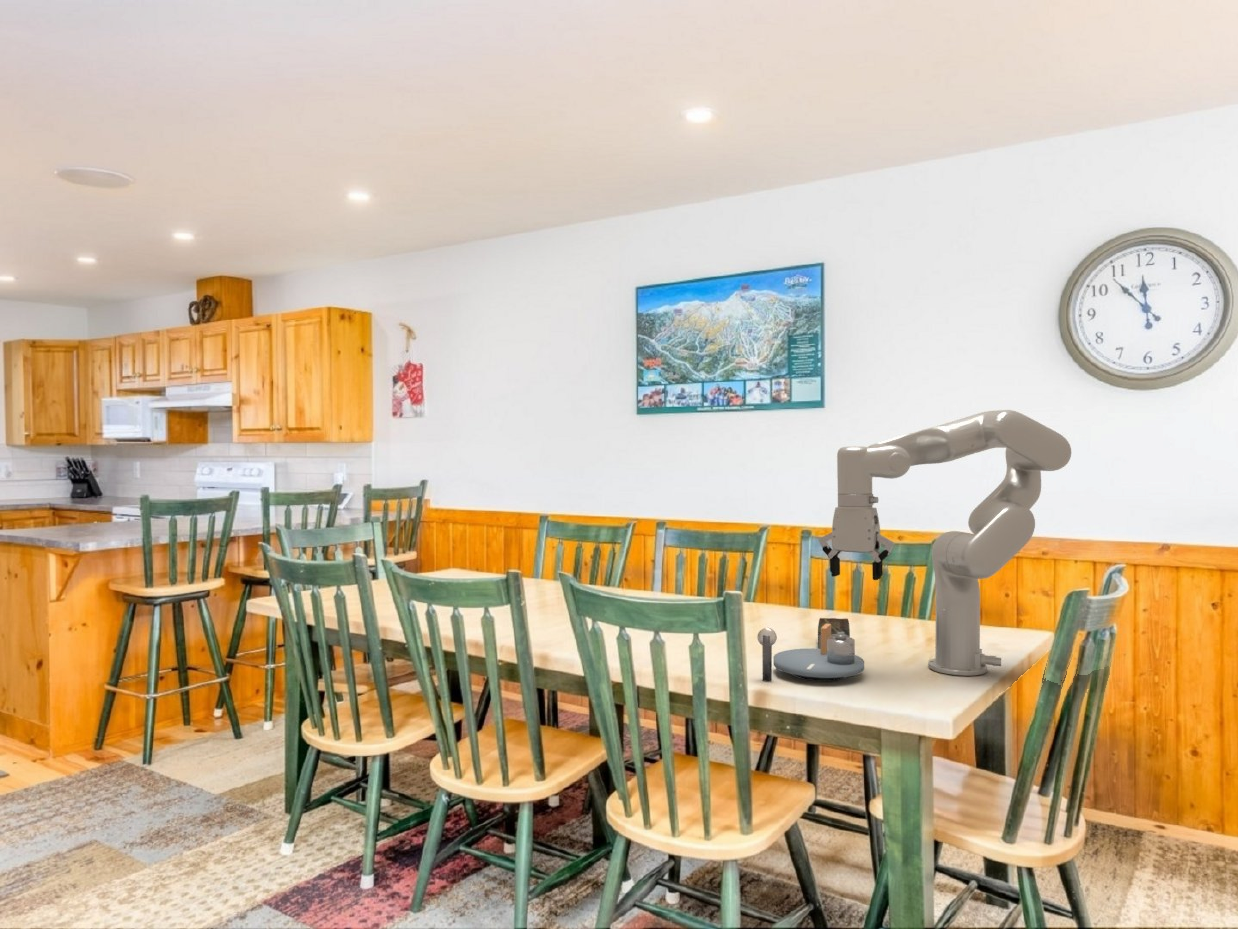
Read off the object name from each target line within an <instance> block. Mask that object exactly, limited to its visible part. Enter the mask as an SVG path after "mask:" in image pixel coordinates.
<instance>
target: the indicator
mask: <svg viewBox="0 0 1238 929" xmlns="http://www.w3.org/2000/svg"><path fill="white" fill-rule="evenodd" d="M777 636H778V635H777V633H776V631H775V630H774V629H773V628H771V627H763V628H762V629H760V630H759V631H758V633H757V641H758V643H759V644H760V645H761V648H762V649H761V650H762V661H761V662H762V664H761V666H762V681H763V682H772V680H773V679H772V678H773V673H772V671H773V669H772V668H773V667H772V666H773V664H772V663H773V660H772V659H773V658H772V657H773V655H772V654H773V651H772V649H773V648H772V647H773V645H774V644H776V642H777V639H778V638H777Z"/></svg>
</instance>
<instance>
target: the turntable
mask: <svg viewBox="0 0 1238 929" xmlns="http://www.w3.org/2000/svg"><path fill="white" fill-rule="evenodd" d="M828 637H831V624H825V625H824V626H823V627H822V628H821V649H818V648H795V649H794V648H793V649H787V650H782V651H779V652H777V653H776V654H774V655H773V656H772V657H773V658H772V659H773V660H772V663H773V664H772V665H773V666H774V667H775V669H777V670H778V671H780V672H781V671H782V672H784V673H787V674H790V675H793V674H794V675H800V676H806V677H818V678H839V677H844V678H846V677H853V676H856V675H859V674H862V673H863V672H864V670H865V660H864V659H863V658H862V657H860V656H859V655H857V654H855V663H854V664H850V665H837V664H832V663H829V662H827V638H828ZM794 675H793V676H794Z"/></svg>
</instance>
